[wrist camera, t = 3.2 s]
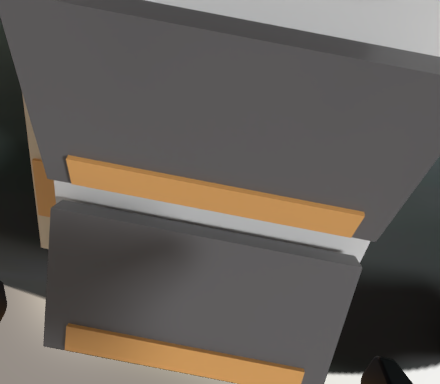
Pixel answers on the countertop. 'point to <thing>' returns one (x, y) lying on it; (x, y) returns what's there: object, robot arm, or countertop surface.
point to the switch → (193, 297)
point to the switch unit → (285, 17)
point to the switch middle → (225, 112)
